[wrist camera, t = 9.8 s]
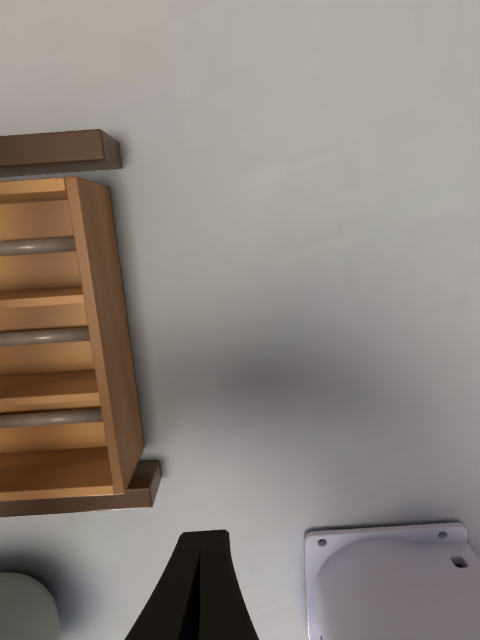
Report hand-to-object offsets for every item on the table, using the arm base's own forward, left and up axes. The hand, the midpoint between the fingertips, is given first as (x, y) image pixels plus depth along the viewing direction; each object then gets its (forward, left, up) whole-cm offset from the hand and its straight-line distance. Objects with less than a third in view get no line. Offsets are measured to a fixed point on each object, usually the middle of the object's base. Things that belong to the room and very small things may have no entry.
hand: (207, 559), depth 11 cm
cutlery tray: (+9, -5, -10) cm, 15 cm away
